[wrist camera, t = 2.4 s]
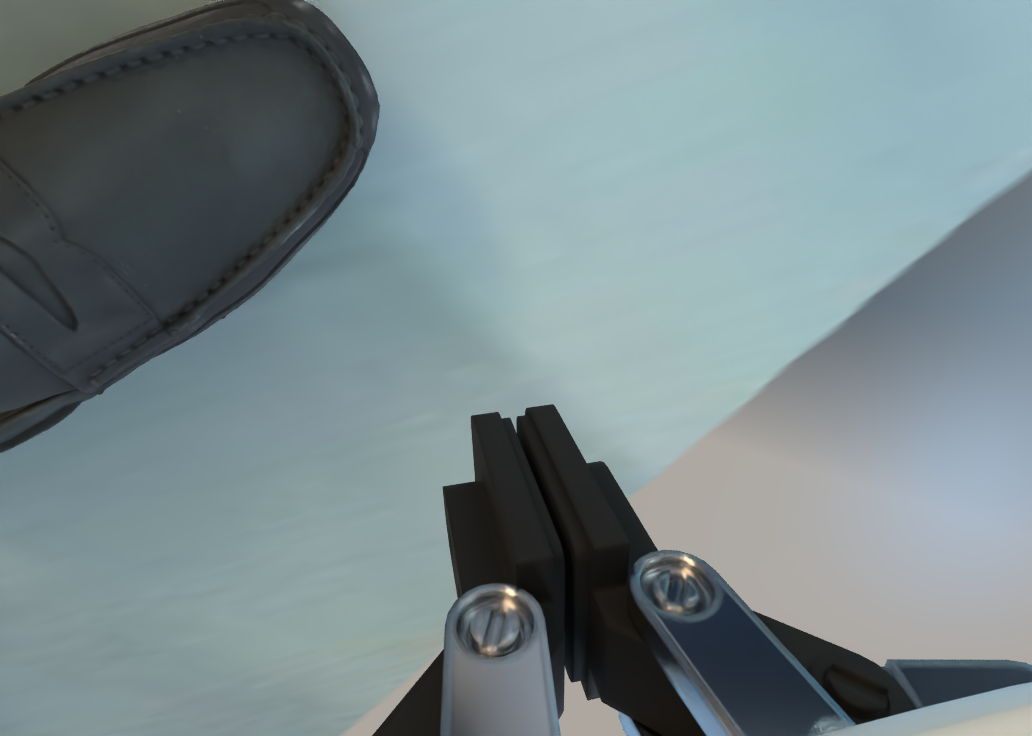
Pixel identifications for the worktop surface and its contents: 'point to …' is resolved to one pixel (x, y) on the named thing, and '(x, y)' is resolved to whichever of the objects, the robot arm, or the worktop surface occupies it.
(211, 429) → the worktop surface
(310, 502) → the worktop surface
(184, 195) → the loafer
